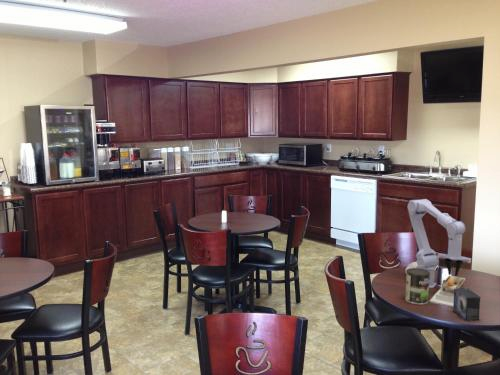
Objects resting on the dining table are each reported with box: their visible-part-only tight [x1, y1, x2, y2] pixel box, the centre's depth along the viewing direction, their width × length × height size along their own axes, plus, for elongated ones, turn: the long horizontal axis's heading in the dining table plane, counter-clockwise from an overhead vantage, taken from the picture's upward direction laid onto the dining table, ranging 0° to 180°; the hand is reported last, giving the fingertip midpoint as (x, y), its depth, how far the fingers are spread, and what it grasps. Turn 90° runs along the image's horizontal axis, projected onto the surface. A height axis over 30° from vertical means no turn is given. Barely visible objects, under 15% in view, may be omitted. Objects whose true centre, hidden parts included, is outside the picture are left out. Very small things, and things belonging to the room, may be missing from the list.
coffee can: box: [404, 268, 430, 306], centre depth 214 cm, size 10×10×14 cm
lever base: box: [429, 279, 466, 308], centre depth 219 cm, size 13×25×6 cm, turn 144°
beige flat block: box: [435, 290, 454, 303], centre depth 215 cm, size 9×8×2 cm
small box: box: [452, 287, 481, 322], centre depth 198 cm, size 11×6×10 cm, turn 5°
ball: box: [447, 279, 454, 286], centre depth 216 cm, size 3×3×3 cm
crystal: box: [404, 260, 439, 275], centre depth 255 cm, size 7×7×24 cm
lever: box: [441, 275, 466, 290], centre depth 222 cm, size 7×17×5 cm, turn 144°
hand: (453, 274), depth 219 cm, fingers open, 2 cm apart
